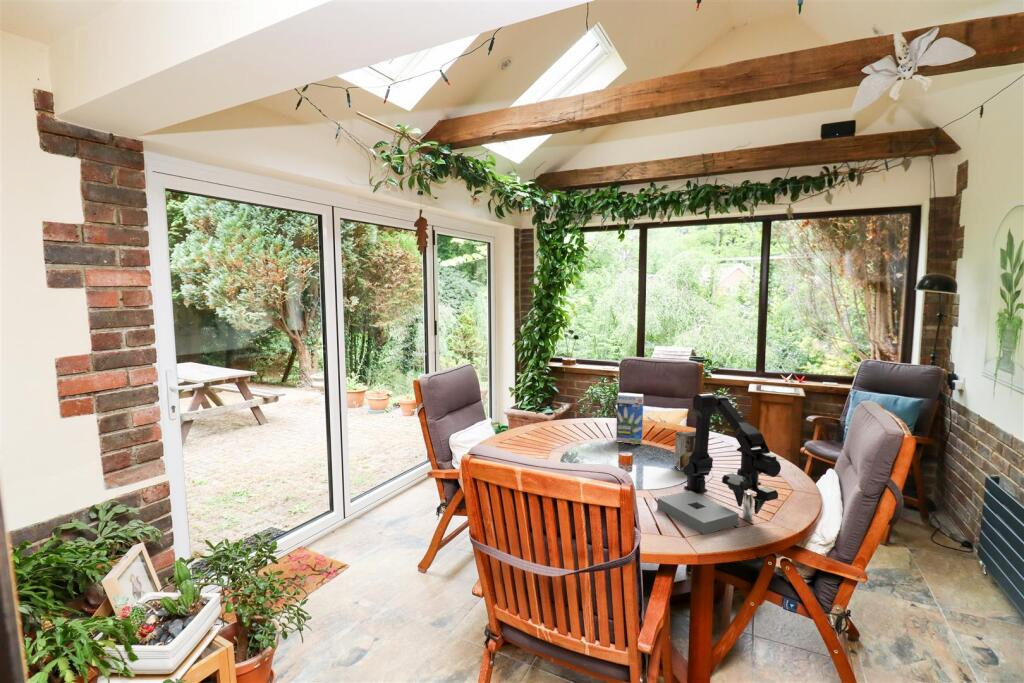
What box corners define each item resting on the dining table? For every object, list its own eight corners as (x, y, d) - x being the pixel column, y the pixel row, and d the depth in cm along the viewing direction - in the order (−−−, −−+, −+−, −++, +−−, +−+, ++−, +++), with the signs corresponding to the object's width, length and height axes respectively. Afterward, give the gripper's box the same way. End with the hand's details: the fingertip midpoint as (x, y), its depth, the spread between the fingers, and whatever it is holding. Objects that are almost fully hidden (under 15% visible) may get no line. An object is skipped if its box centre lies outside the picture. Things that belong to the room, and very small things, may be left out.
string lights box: (615, 443, 263) (616, 394, 261) (617, 439, 271) (618, 392, 268) (641, 445, 260) (643, 396, 257) (642, 441, 267) (643, 393, 264)
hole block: (657, 508, 184) (657, 498, 183) (689, 500, 191) (690, 490, 190) (703, 534, 164) (704, 522, 164) (738, 524, 171) (738, 513, 171)
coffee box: (693, 465, 229) (695, 431, 227) (699, 470, 223) (700, 435, 221) (674, 466, 229) (675, 431, 227) (679, 471, 222) (680, 435, 221)
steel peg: (740, 517, 176) (742, 492, 176) (746, 515, 178) (748, 491, 177) (748, 521, 174) (749, 496, 173) (754, 519, 175) (755, 494, 174)
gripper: (711, 462, 179) (710, 504, 180) (757, 479, 162) (755, 525, 164) (733, 457, 184) (732, 498, 185) (780, 474, 167) (777, 519, 168)
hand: (747, 510), depth 175 cm, fingers open, 6 cm apart
